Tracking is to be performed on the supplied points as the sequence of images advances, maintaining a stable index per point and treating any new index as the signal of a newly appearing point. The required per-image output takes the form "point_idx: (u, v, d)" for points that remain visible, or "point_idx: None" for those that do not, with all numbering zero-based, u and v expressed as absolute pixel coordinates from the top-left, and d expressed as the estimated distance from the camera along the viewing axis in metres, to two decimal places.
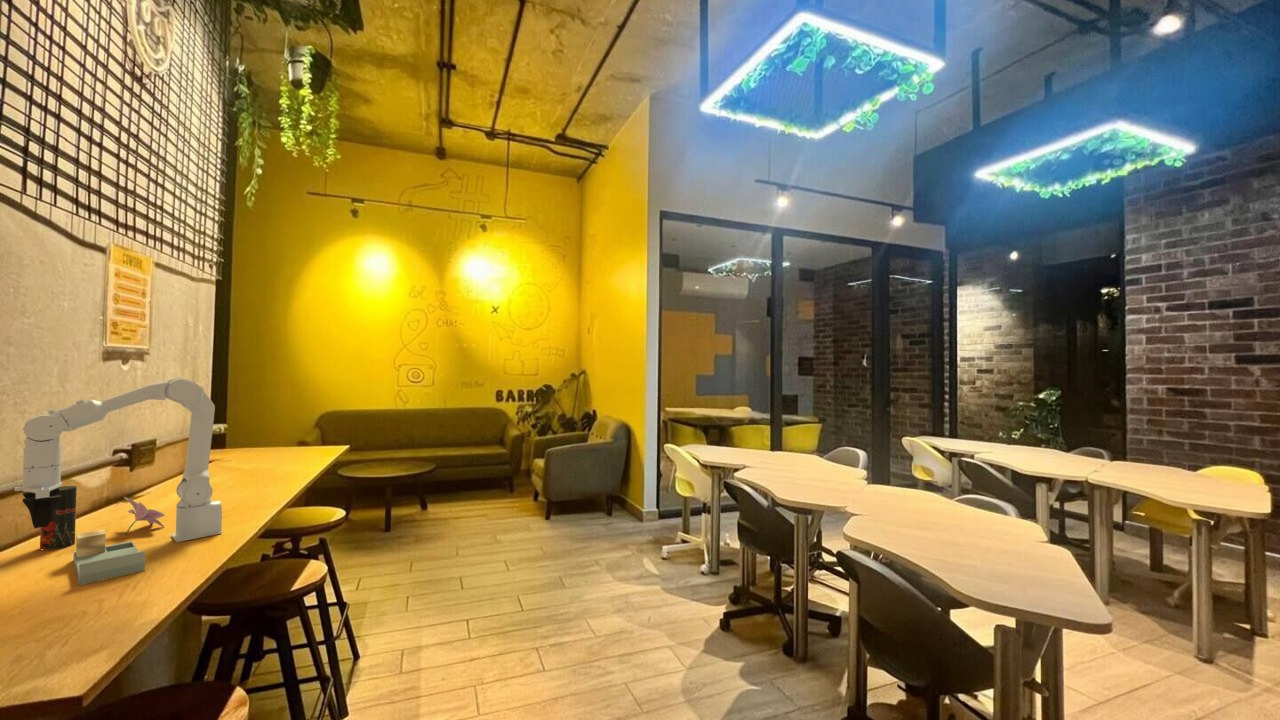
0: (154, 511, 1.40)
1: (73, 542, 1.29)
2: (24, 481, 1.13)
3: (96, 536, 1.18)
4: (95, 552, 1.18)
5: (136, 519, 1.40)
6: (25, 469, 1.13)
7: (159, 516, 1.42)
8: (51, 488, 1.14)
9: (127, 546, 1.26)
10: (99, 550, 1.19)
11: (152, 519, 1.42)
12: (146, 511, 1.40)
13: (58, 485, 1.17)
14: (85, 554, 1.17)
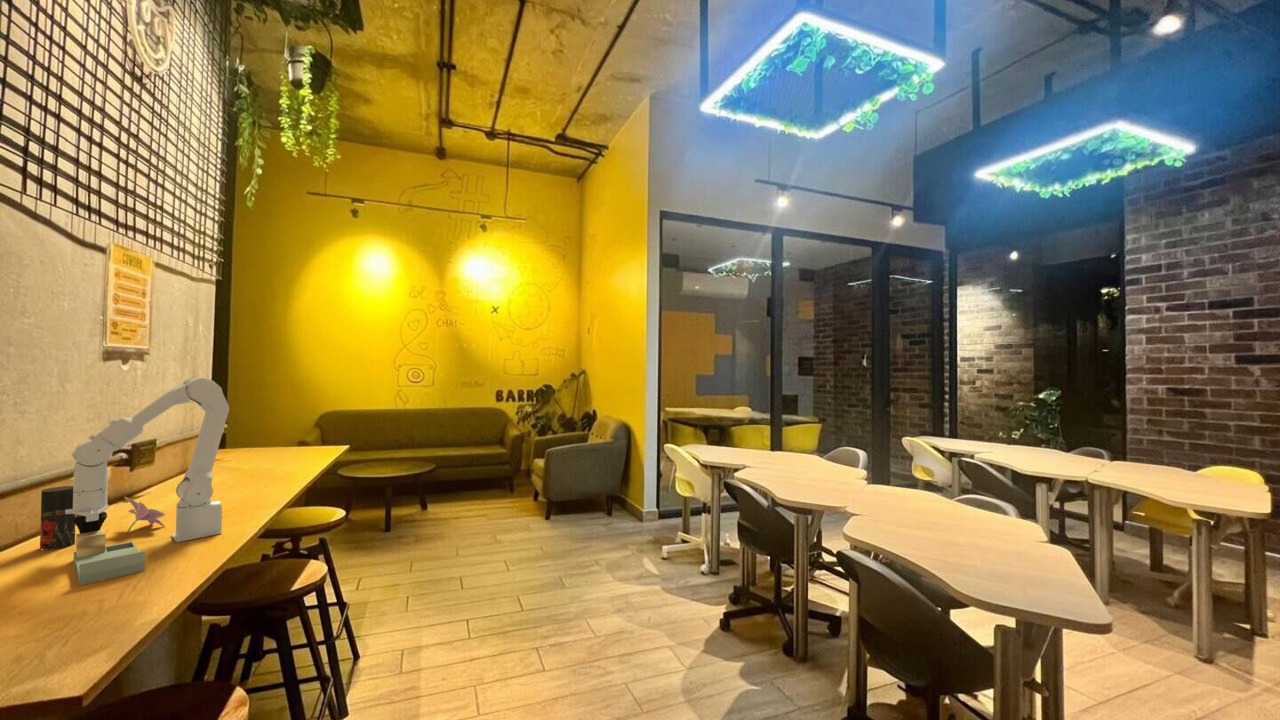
0: (155, 511, 1.41)
1: (73, 542, 1.29)
2: (74, 504, 1.19)
3: (95, 536, 1.18)
4: (95, 552, 1.18)
5: (136, 519, 1.40)
6: (75, 493, 1.19)
7: (160, 516, 1.42)
8: (100, 511, 1.19)
9: (127, 546, 1.26)
10: (99, 550, 1.19)
11: (152, 519, 1.42)
12: (146, 511, 1.40)
13: (105, 508, 1.22)
14: (85, 554, 1.17)
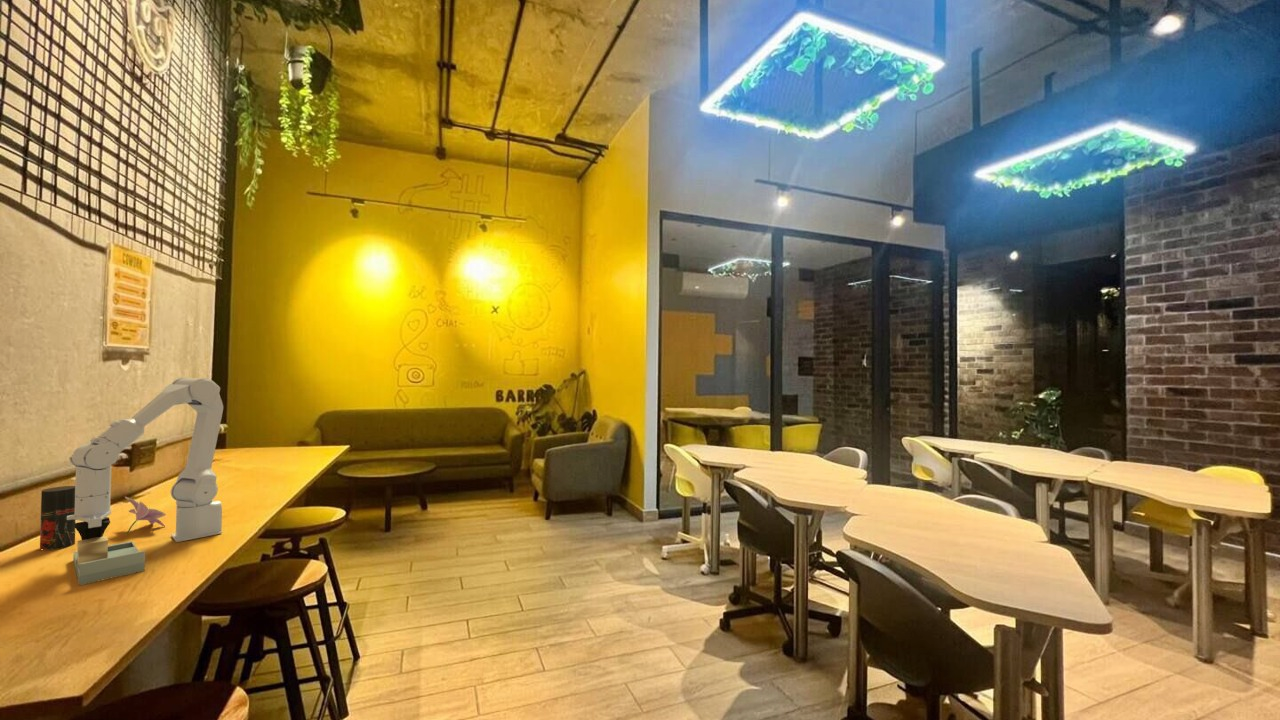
0: (155, 511, 1.41)
1: (73, 542, 1.29)
2: (76, 510, 1.15)
3: (98, 542, 1.14)
4: (97, 559, 1.14)
5: (137, 519, 1.40)
6: (77, 498, 1.15)
7: (160, 516, 1.42)
8: (102, 517, 1.15)
9: (127, 546, 1.26)
10: (101, 557, 1.14)
11: (153, 519, 1.42)
12: (147, 511, 1.40)
13: (108, 513, 1.18)
14: None
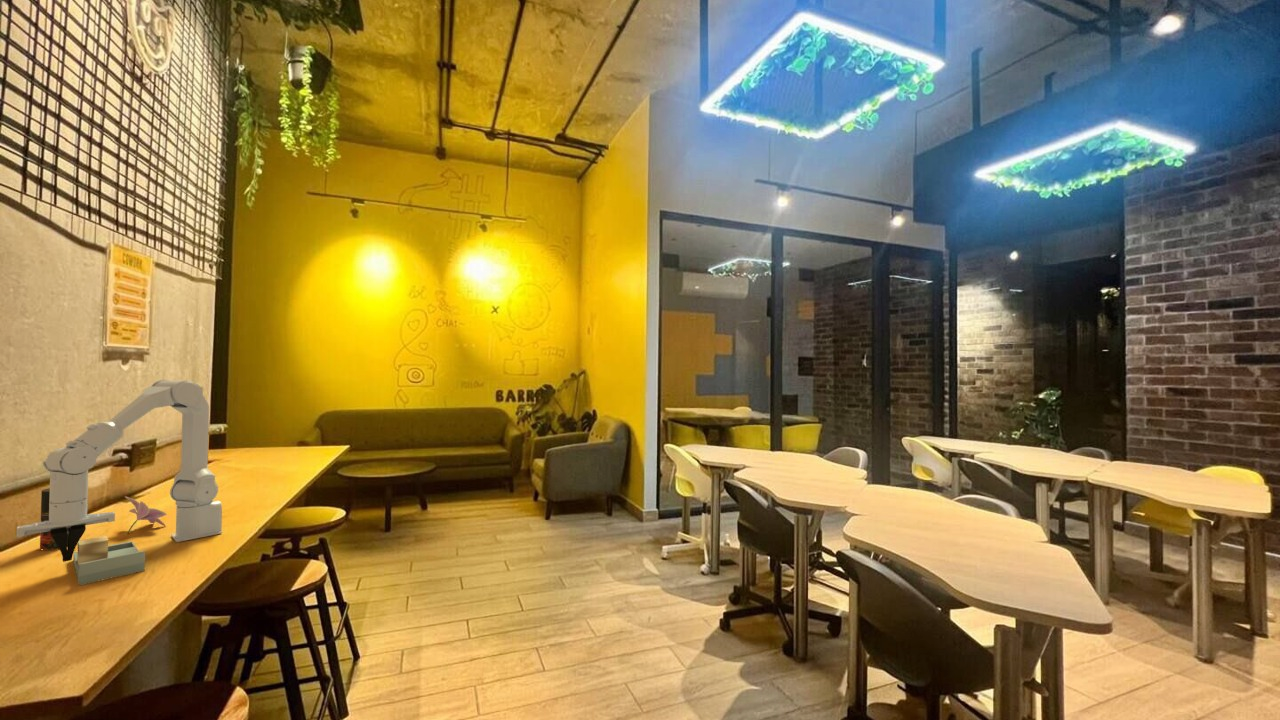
0: (156, 510, 1.41)
1: None
2: None
3: (98, 542, 1.14)
4: (97, 559, 1.14)
5: (138, 518, 1.40)
6: None
7: (161, 515, 1.42)
8: (32, 527, 1.07)
9: (127, 546, 1.26)
10: (101, 557, 1.14)
11: (153, 518, 1.42)
12: (148, 510, 1.41)
13: (54, 525, 1.09)
14: (87, 561, 1.13)
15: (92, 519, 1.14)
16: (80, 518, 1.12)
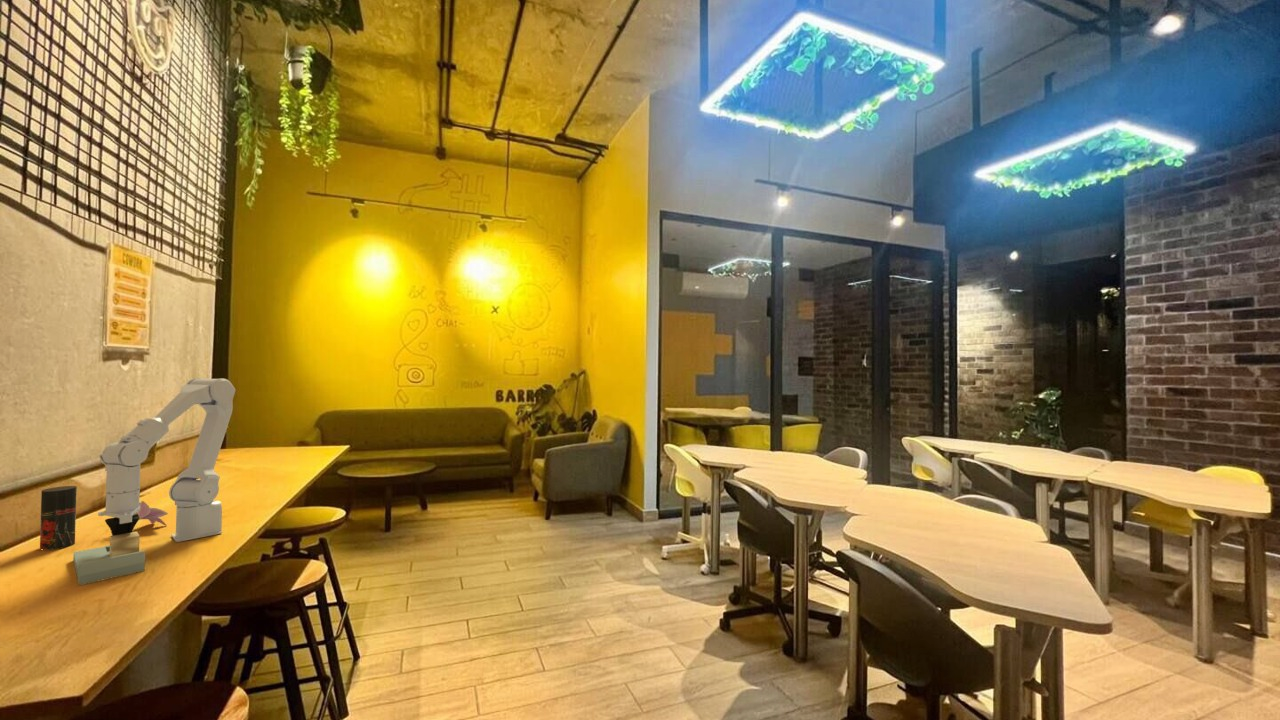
0: (157, 510, 1.42)
1: (73, 542, 1.29)
2: (107, 506, 1.18)
3: (130, 538, 1.17)
4: None
5: (139, 518, 1.41)
6: (108, 495, 1.18)
7: (162, 515, 1.43)
8: (133, 513, 1.18)
9: None
10: (133, 552, 1.18)
11: (154, 518, 1.43)
12: (149, 510, 1.41)
13: (138, 509, 1.21)
14: None
15: None
16: None
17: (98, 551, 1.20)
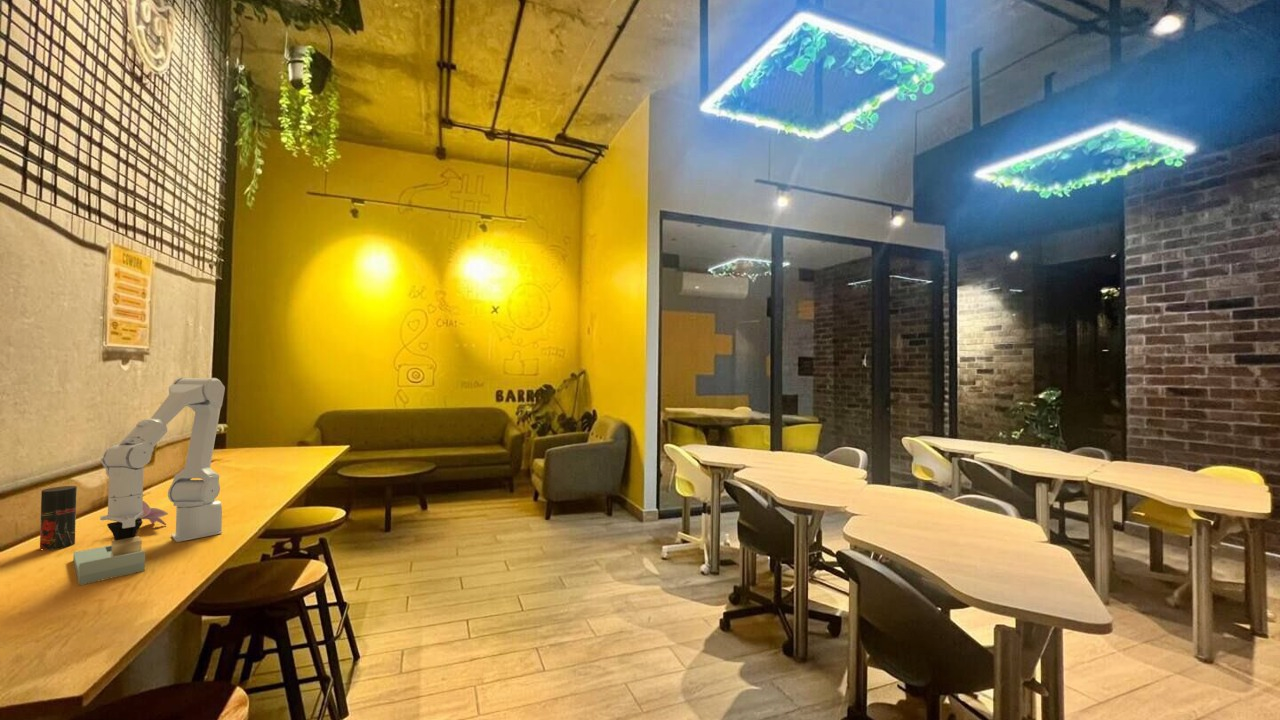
0: (157, 510, 1.42)
1: (73, 542, 1.29)
2: (110, 510, 1.15)
3: (132, 543, 1.14)
4: None
5: None
6: (111, 498, 1.15)
7: (162, 515, 1.43)
8: (136, 517, 1.15)
9: None
10: None
11: (155, 518, 1.43)
12: (149, 510, 1.41)
13: (141, 513, 1.18)
14: None
15: None
16: None
17: (98, 551, 1.20)
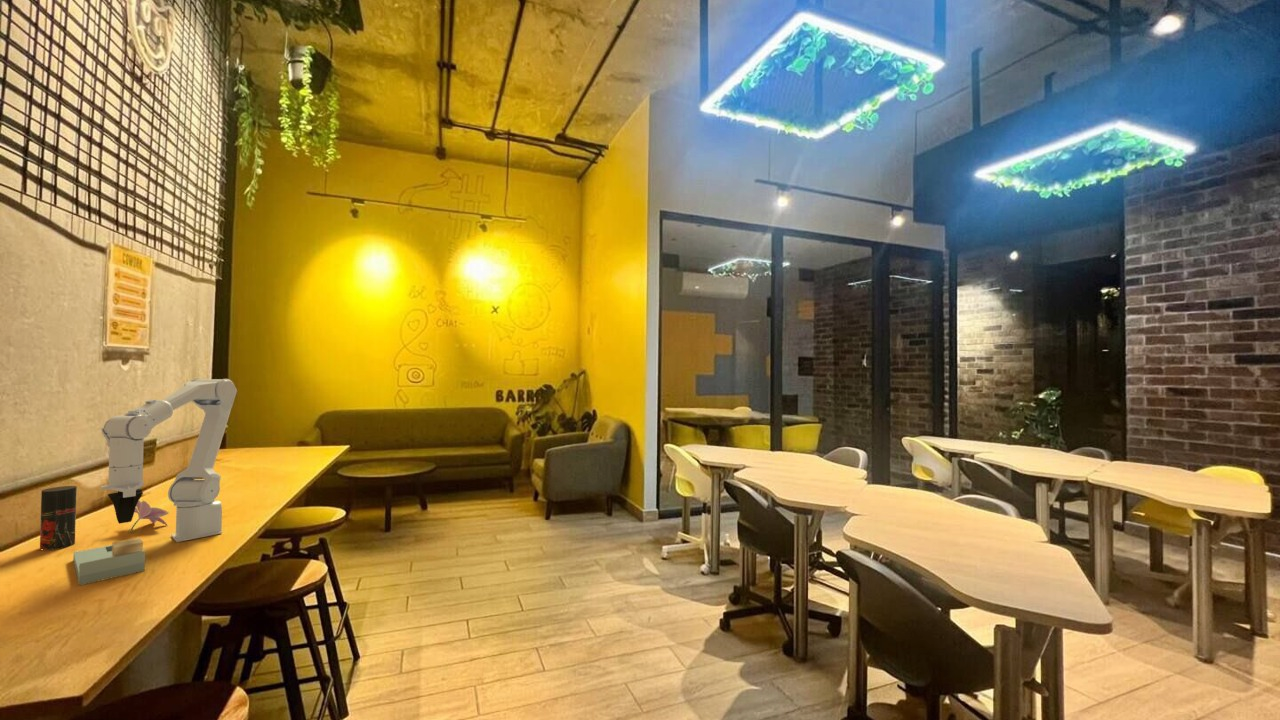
0: (158, 509, 1.42)
1: (73, 542, 1.29)
2: (110, 480, 1.15)
3: (133, 544, 1.13)
4: None
5: (139, 517, 1.41)
6: (111, 468, 1.15)
7: (162, 514, 1.43)
8: (136, 487, 1.16)
9: None
10: None
11: (155, 517, 1.43)
12: (150, 509, 1.42)
13: (141, 484, 1.19)
14: None
15: None
16: None
17: (98, 551, 1.20)
